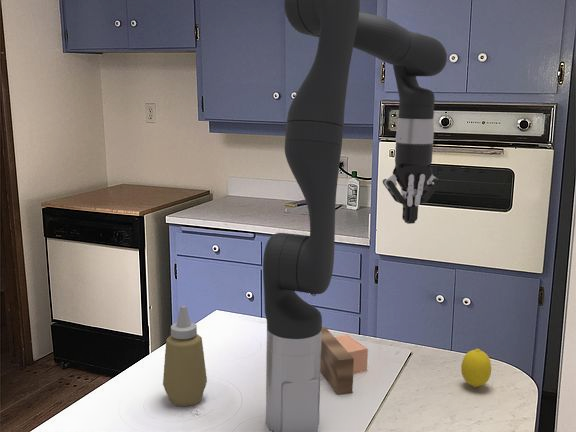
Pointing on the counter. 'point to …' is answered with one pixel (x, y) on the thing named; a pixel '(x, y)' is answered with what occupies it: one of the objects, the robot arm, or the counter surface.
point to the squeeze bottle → (184, 362)
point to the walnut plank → (336, 363)
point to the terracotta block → (355, 352)
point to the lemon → (476, 368)
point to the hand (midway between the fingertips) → (409, 222)
